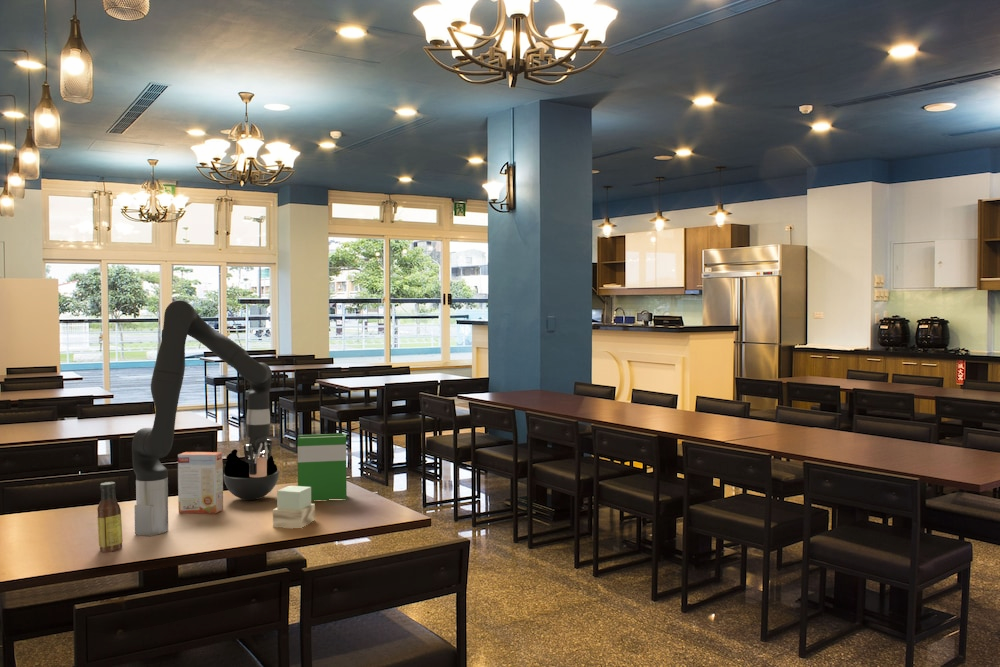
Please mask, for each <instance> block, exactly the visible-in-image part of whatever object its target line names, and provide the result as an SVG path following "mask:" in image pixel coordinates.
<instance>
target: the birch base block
mask: <svg viewBox="0 0 1000 667" xmlns="http://www.w3.org/2000/svg"><path fill="white" fill-rule="evenodd" d="M315 504H316V503H311V505H310V506H308V507H305V508H303V509H301V510H284V509H277V507H275V508H274V509H272V527H273V528H278V527H283V528H282V529H284V528H285V529H293V528H302V527H304V526H305V527H307V526H308V525H307V524H309V523H311V522H312V521H314V520H315V521H316V505H315ZM315 521H314V522H315ZM312 523H313V522H312ZM312 523H311V524H312ZM306 525H307V526H306ZM309 525H310V524H309ZM305 527H304V528H305ZM302 529H303V528H302Z"/></svg>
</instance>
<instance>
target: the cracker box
mask: <svg viewBox="0 0 1000 667" xmlns="http://www.w3.org/2000/svg"><path fill="white" fill-rule="evenodd" d="M223 464H224V462H223V452H219V451H213V452H212V451H185V452H182V453H178V454H177V490H178V491H177V492H178V493H177V494H178V500H177V501H178V503H177V504H178V513H179V514H213V513H215V514H218V513H219V512H221V511H223V510H224V478H223V475H224V472H223V470H224V465H223Z"/></svg>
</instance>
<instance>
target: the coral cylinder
mask: <svg viewBox="0 0 1000 667" xmlns="http://www.w3.org/2000/svg"><path fill="white" fill-rule="evenodd" d="M253 458H254V457H253ZM256 463H257V474H255V475H250V472H249V476H250V477H265V476H267V457H258V458H257V462H256ZM249 467H250V464H249Z"/></svg>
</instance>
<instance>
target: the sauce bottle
mask: <svg viewBox="0 0 1000 667" xmlns="http://www.w3.org/2000/svg"><path fill="white" fill-rule="evenodd" d="M99 489H100V501H99V503H98V505H97V508H96V510H97V530H98V547H99V551H100V552H101V551H103V552H102V553H111V551H112V552H117V551H119V550H120V549H122V548H123V525H122V523H123V522H122V509H121V507H120V504H119V503H118V500H117V498H116V482H115V481H105V482H101V483H100V485H99ZM116 550H117V551H116Z"/></svg>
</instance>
